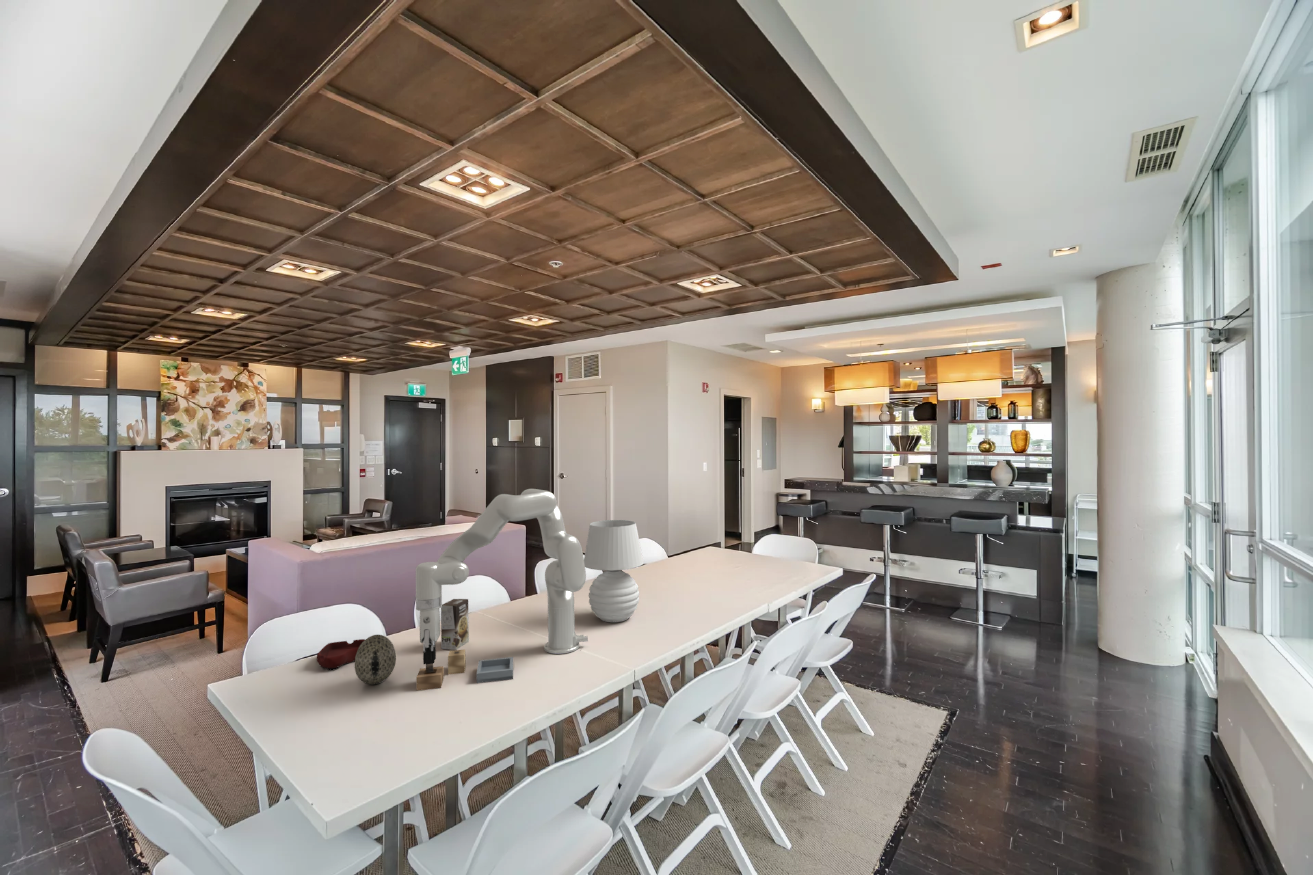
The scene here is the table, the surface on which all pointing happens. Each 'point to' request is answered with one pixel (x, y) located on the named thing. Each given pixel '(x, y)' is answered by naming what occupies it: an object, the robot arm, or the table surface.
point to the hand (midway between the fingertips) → (429, 661)
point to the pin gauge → (429, 666)
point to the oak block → (456, 662)
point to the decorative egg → (375, 659)
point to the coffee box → (454, 624)
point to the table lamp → (613, 568)
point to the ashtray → (338, 654)
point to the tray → (495, 670)
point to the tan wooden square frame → (430, 678)
